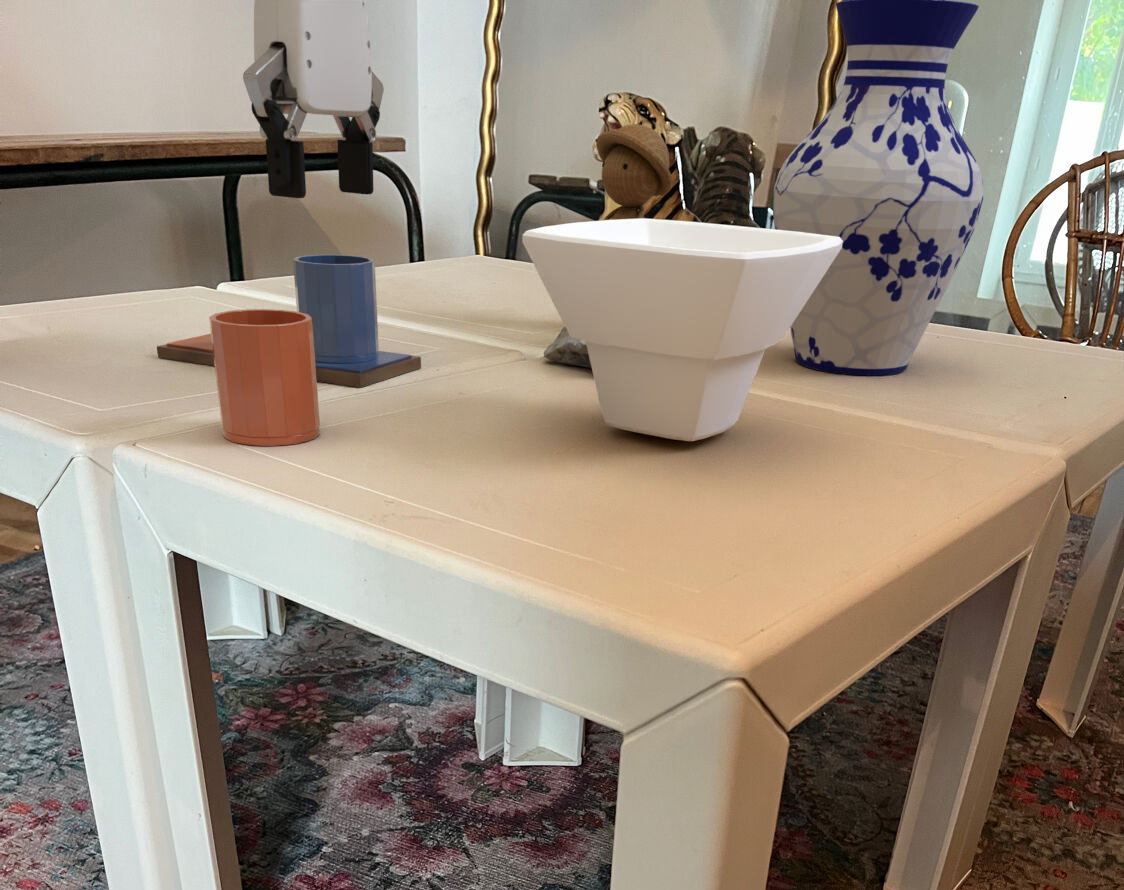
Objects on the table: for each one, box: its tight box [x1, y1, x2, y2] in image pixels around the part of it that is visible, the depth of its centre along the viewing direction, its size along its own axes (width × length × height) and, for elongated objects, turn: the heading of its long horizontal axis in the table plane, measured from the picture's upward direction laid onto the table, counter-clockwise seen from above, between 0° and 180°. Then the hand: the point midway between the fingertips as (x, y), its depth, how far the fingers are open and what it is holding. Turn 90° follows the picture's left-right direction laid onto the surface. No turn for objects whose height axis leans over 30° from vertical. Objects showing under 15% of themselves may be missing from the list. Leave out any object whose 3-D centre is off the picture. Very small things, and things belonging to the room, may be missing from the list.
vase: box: [772, 0, 984, 376], centre depth 104 cm, size 19×19×30 cm
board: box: [156, 333, 422, 389], centre depth 103 cm, size 22×10×1 cm, turn 65°
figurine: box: [595, 123, 673, 220], centre depth 119 cm, size 9×7×20 cm
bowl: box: [522, 217, 843, 442], centre depth 82 cm, size 19×19×14 cm
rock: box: [543, 325, 592, 369], centre depth 105 cm, size 11×6×10 cm
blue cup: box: [292, 254, 380, 364], centre depth 98 cm, size 7×7×8 cm
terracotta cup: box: [208, 308, 320, 447], centre depth 79 cm, size 7×7×8 cm
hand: (323, 194), depth 94 cm, fingers open, 9 cm apart
